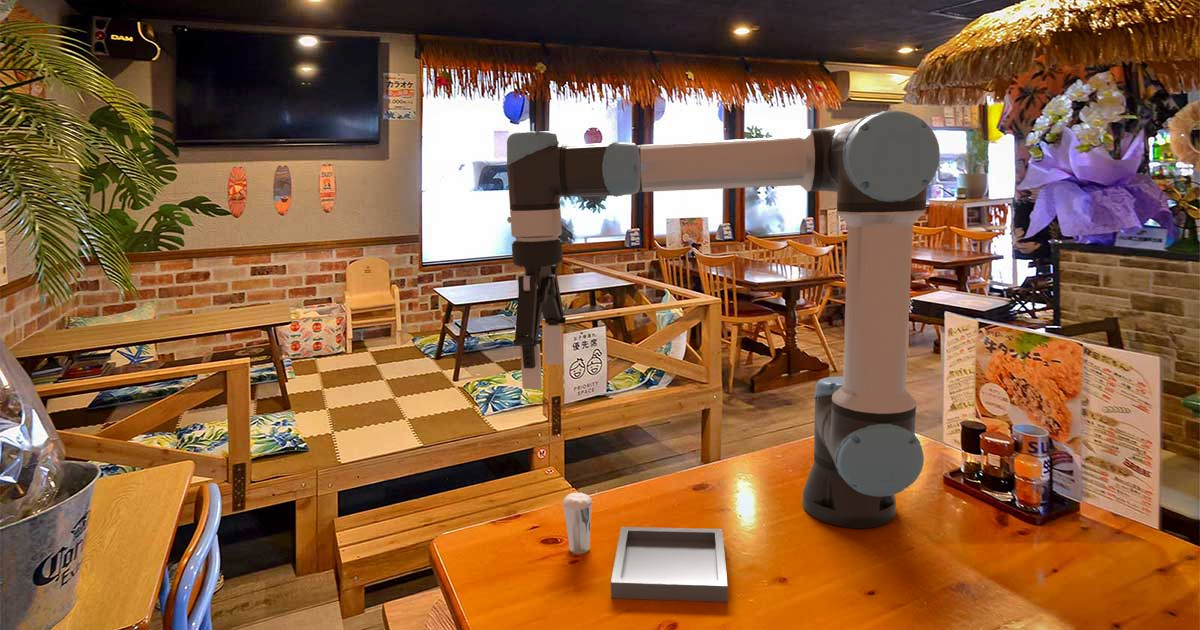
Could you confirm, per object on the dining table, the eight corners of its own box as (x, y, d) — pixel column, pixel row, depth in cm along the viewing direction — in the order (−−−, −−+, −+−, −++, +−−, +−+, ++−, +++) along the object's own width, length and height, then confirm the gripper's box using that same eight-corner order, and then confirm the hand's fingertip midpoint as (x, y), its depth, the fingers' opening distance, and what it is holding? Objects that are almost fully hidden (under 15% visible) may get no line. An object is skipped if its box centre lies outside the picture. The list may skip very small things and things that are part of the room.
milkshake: (595, 557, 110) (593, 497, 108) (562, 555, 111) (558, 495, 109) (601, 543, 115) (599, 484, 113) (569, 541, 116) (566, 483, 114)
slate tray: (722, 542, 113) (722, 529, 113) (727, 602, 98) (727, 586, 97) (621, 540, 115) (621, 526, 115) (611, 598, 100) (610, 582, 99)
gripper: (534, 232, 120) (540, 355, 124) (485, 247, 95) (495, 399, 99) (578, 231, 118) (583, 355, 122) (539, 246, 94) (547, 400, 98)
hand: (543, 375), depth 111 cm, fingers open, 13 cm apart
